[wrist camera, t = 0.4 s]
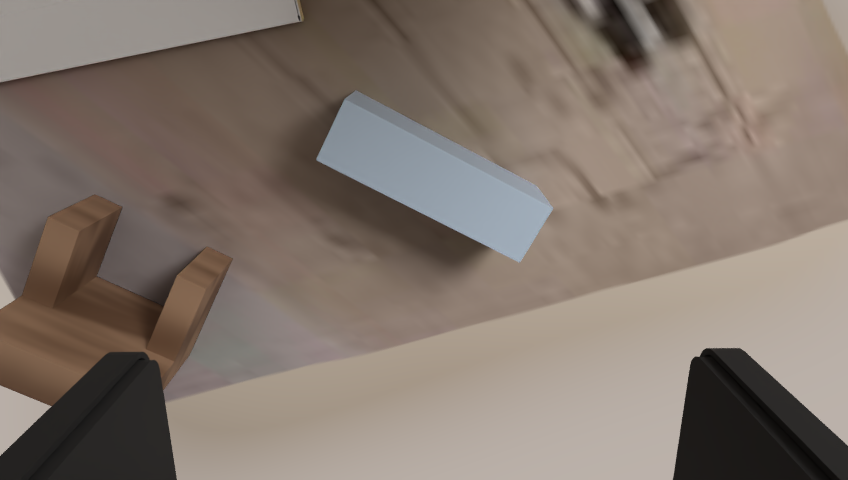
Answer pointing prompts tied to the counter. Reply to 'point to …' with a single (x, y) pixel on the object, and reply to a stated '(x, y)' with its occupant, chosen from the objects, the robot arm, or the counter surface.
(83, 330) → the walnut end cap
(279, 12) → the baseboard molding
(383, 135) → the slate slat
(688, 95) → the counter surface
